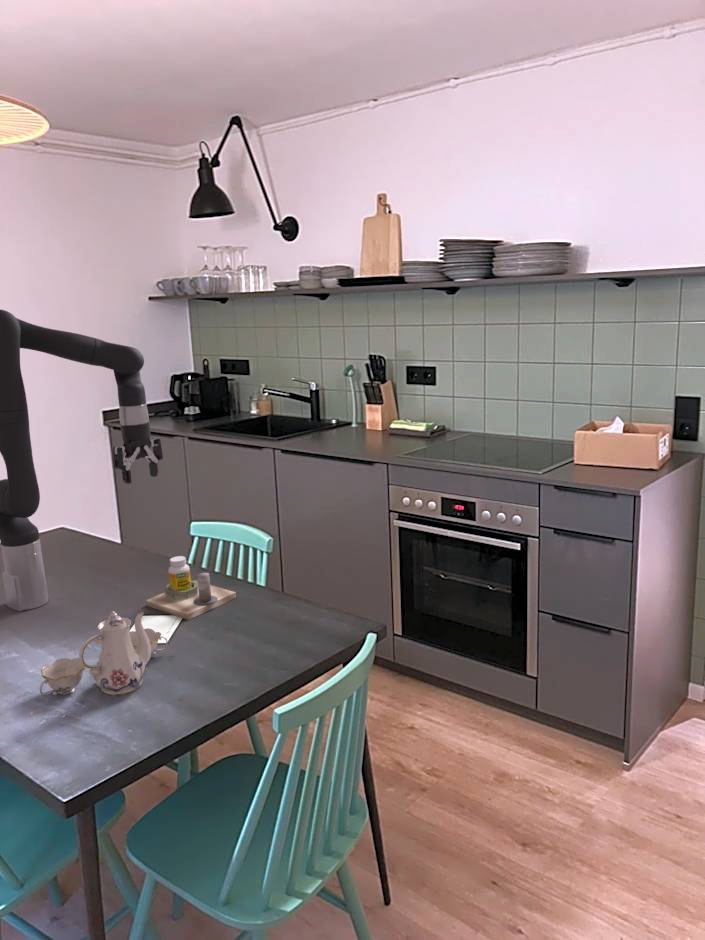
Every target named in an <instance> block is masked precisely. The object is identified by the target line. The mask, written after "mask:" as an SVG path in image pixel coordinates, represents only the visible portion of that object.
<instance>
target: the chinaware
mask: <svg viewBox="0 0 705 940" xmlns="http://www.w3.org/2000/svg"><path fill="white" fill-rule="evenodd" d="M144 613H145V612H144V611H140V612H138V613H137V615H136V616H135V619H134V630H132V631H130V629H131V624H132V620H131V619H129V618H128V617H122V616H120V615H118V614H117V612H115V611H113V610H112V611H111V612H110V614H109V615H108V617H107V618H106V619H105V620H103V621H102V622H99V624H98V625H97V630H99V633H100V634H95V635H93V636H91V637H88V638H87V640H86V641H85V642H83V644H82V645H81V648H80V651H79V656H78V657H77V658H73V659H70V658H67V657H65V658H62V657H61V658H60V659H59V658H58V659H57V660H55V661H54V662H53V663H52V664H47V665H46V664H45V665H44V666H42V668H41V677H42V678H43V679H44V680H43V681H42V682H41V683H40V684H39V694H41V695H42V696H43V697H44V696H45V697H46V696H48V695H50V694H51V693H52V694H53V695H54V696H56V695H57V694H59V693H61V694H60V695H62V694H63V695H62V696H65V695H68V693H69V694H73V692H74V691H75V690H76V689H77V688H76V687H77V686H78V685H79V683H81V680H82V677H83V673H84V671H85V669H86V668H87V669H89V673H90V675H91V676H92V678H93V679H94V681H95V684H96V686H97V687H99V688H100V692H102V693H103V692H104V693H103V694H105V693H106V694H105V695H108V694H110V695H109V696H120V695H119V694H121V695H125V694H129V693H132V692H135V691H136V690H137V689H140V687H142V684H143V683H144V680H143V679H144V678H145V677H146V676H147V673H148V672H149V668H148V666H147V664H148V663H149V661H150V660H151V656H152V655H153V656H156V655H157V651H164V650H165V649H166V648H167V647H168V645H169V642H168V639H167V638H166V637H165V636H163V635H162V633H161V632H160V631H155V630H154V629H152V628H144V626H143V623H142V618H143V616H144ZM162 639H164V640H165V642H166V643H165V646H164V647H163V648H157V647H158V643H159V640H160V641H161V640H162ZM92 641H95V643H96V644H97V645H99V644H101V652H100V657H99V658H98V660H97V663H96V664H94V665H93V664H92V665H91V664H87V663H86V661H85V658H84V653H85V650H86V648H87V647H88V645H89V644H90V643H91V642H92ZM44 684H45V685H48V686H49V687H50V688H51V689H52V690H50V691H48V692H47V693H46V694H45V693H43V692H42V689H43V685H44ZM64 694H65V695H64ZM117 694H118V695H117Z"/></svg>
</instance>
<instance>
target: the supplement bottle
mask: <svg viewBox="0 0 705 940" xmlns="http://www.w3.org/2000/svg"><path fill="white" fill-rule="evenodd" d="M169 564H170V566H169V567H168V571H167V572H168V578H169V584H170V588H171V590H172V591H186V590H188V589H191V588H192V587H191V581H192V578H191V569H190V566H189V564H187V558H186V556H183V555H179V556H178V555H177V556H174V557H171V558H170V559H169Z"/></svg>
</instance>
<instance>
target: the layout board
mask: <svg viewBox="0 0 705 940" xmlns="http://www.w3.org/2000/svg"><path fill="white" fill-rule="evenodd" d="M196 578H197V579H196V580H195V579H194V580H191V587H192V588H191V589H188V590H186V591H172V590H171V588H170V583H168V584H166V585H165V589H164V592H163V593H159V594H158V595H155V596H153V597H151V598H148V599H146V606H148V607H149V608H153V609H155V610H159V611H161V612H164V613H166V614H170V615H173V616H176V617H178V618H181V619H184V620H186V621H189V620H191V619H193V618H195V617H198V616H201V615H202V614H204V613H206V612H209V611H211V610H213V609H215V608H218V607H219V606H221V605H224V604H226V603H228V602H230V601H232V600H235V599H236V598H237V593H236V591H233V590H229V589H225V588H222V587H220V586H216V585H213V584H211V579H210V578H211V577H210V573H209V572H200V573H198V574H197V575H196Z"/></svg>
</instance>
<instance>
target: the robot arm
mask: <svg viewBox="0 0 705 940" xmlns="http://www.w3.org/2000/svg"><path fill="white" fill-rule="evenodd" d="M21 349H25V350H31V351H34V352H35V351H36V352H41V353H43V354H48V355H51V356H55V357H59V358H62V359H65V360H69V361H72V362H76V363H81V364H85V365H90V366H94V367H95V366H97V367H102V368H106V369H108V370H111V371H112V370H113V373H114V378H115V379H114V380H115V382H116V386H117V396H118V398H117V399H118V406H119V410H118V412H119V413H118V414H119V415H118V416H119V423H120V432H121V433H120V434H121V440H122V442H123V445H121V446H113V448H112V449H113V450H112V451H113V466H114V469H117V470H121V475H122V476H121V477H122V482H124V484H127V485H131V484H132V475H131V474H132V472H131V469H130V468H131V466H132V464H134V462H135V460H139V459H144V458H145V459H146V460H147V461H148V462H149V463H148V465H149V475H150V477H153V478H155V477H156V478H157V476H158V475H159V470H158V469H159V468H158V467H159V466H158V462H159V461H161V460H163V458H164V456H163V449H162V442H161V439H160V438H158V437H157V438H156V437H152V438H151V435H152V434H151V426H150V418H149V410H148V406H147V405H148V404H147V398H146V397H147V396H146V390H145V389H146V388H145V386H144V384H143V382H142V379H141V378H142V377H141V372H140V371H141V370H142V369H143V367H144V365H145V359H144V355H143V354H142V352H141V351H140V350H139V349H138V348H135V347H132V346H129V345H123V344H118V343H113V342H108V341H106V340H105V341H104V340H102V339H99V338H95V337H93V336H88V335H84V334H81V333H75V332H72V331H71V332H70V331H66V330H58V329H53V328H50V327H49V328H48V327H44V326H40V325H37V324H32V323H30V322H27V321H24V320H22V319H20V318H18V317H16V316H15V315H14V314H12V313H11V312H9V311H8V310H4V309H0V455H1V457H2V459H3V461H4V464H5V469H6V476H7V478H5V479H0V547H1V548H0V549H1V553H2V558H3V559H2V560H3V566H4V571H2V573H1V575H2V581H3V587H4V593H5V600H6V607H7V606H8V607H7V608H10V609H12V610H15V611H17V612H22V611H26V610H32V609H36V608H38V607H42V606H44V605H45V604H47V603H48V601H49V594H48V593H49V592H48V587H47V580H46V574H45V573H46V572H45V565H44V560H43V559H44V558H43V553H42V545H41V539H40V531H39V529H38V527H37V526H36V525H35V524H34V523H32V522H31V521H30V519H29V518H30V517H32V516H33V515H35V513H36V512H37V511H38V508H39V506H40V502H41V501H40V500H41V494H40V488H39V483H38V478H37V474H36V468H35V464H34V459H33V449H32V448H33V447H32V442H31V441H32V439H31V434H30V433H31V432H30V419H29V409H28V407H29V406H28V400H27V395H26V389H25V384H24V378H23V375H22V369H21ZM150 438H151V439H150ZM151 447H152V450H151Z"/></svg>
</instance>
